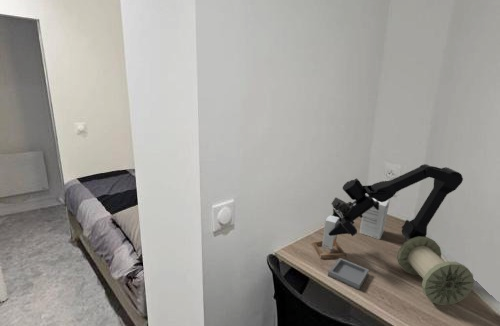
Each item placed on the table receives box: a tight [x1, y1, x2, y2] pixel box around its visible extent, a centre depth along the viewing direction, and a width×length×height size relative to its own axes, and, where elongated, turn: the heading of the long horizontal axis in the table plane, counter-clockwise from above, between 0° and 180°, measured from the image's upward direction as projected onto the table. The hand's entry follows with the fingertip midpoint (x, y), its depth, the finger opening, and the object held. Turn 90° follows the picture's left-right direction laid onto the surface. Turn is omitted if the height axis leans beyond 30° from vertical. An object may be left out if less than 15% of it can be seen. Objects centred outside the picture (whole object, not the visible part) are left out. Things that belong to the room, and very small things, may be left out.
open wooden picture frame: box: [311, 240, 347, 260], centre depth 115 cm, size 10×10×2 cm
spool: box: [396, 236, 475, 306], centre depth 94 cm, size 16×15×15 cm
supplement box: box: [359, 198, 390, 240], centre depth 130 cm, size 10×9×17 cm
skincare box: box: [321, 214, 339, 250], centre depth 113 cm, size 6×4×12 cm
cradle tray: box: [327, 258, 370, 291], centre depth 100 cm, size 11×11×2 cm
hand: (327, 230), depth 113 cm, fingers closed on skincare box, 7 cm apart
